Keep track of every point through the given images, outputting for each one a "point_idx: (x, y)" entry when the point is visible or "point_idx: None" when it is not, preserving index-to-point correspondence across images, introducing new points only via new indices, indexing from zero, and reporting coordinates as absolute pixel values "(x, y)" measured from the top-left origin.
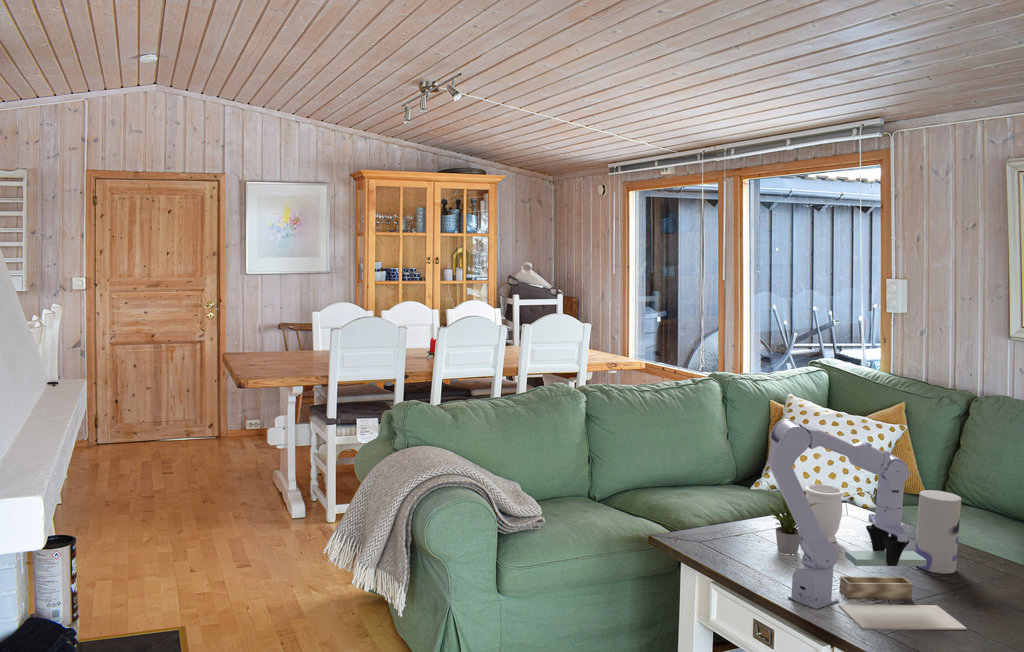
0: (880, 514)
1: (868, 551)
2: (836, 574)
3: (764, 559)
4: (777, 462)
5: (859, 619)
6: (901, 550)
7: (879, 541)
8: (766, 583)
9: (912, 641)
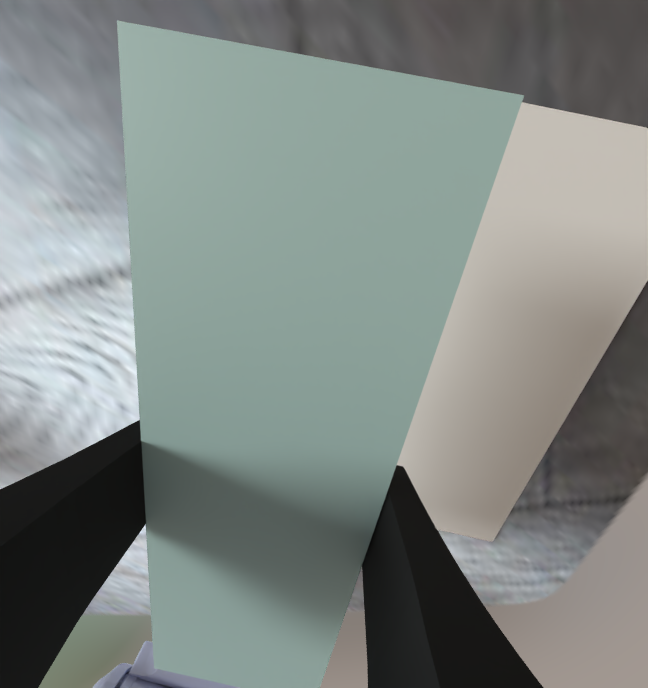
0: None
1: (161, 566)
2: (39, 329)
3: None
4: None
5: (441, 516)
6: (513, 676)
7: (56, 589)
8: (146, 567)
9: (638, 463)
